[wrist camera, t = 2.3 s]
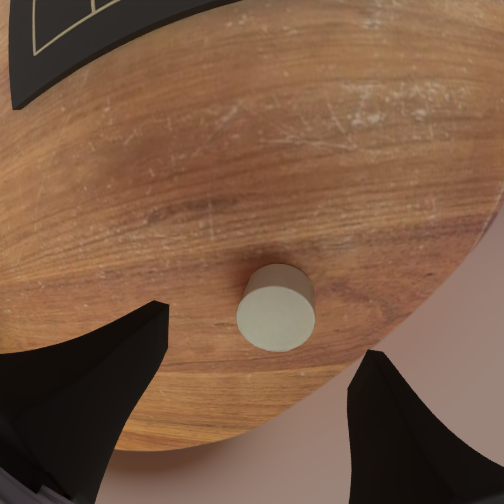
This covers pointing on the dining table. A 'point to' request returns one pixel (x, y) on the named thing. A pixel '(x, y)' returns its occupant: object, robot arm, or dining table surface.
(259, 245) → the dining table surface
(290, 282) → the cylinder
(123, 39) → the board
